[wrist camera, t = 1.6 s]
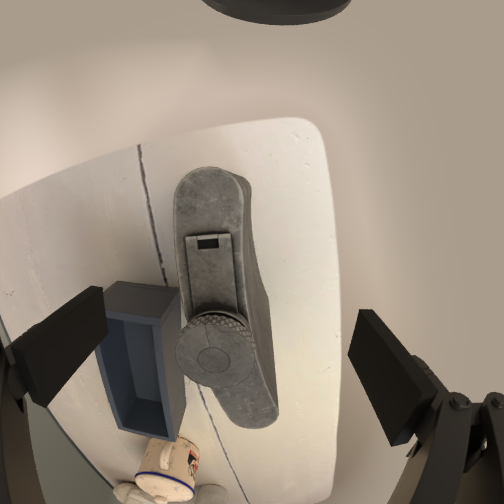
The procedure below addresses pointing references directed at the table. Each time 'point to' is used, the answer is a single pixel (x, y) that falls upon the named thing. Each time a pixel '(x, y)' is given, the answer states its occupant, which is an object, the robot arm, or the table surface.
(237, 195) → the flask
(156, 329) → the holder
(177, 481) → the teacup with lid
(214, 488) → the house plant
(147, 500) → the fossil replica
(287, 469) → the table surface
